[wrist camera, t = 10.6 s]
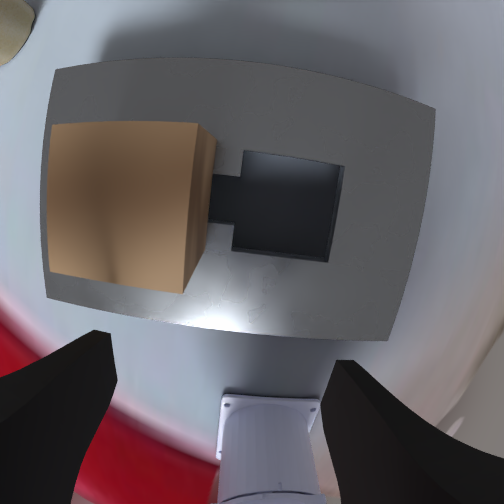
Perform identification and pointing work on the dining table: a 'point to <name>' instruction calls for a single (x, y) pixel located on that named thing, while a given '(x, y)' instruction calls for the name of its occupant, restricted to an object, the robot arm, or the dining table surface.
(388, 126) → the grey slotted base block
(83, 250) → the peg
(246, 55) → the dining table surface
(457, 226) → the dining table surface
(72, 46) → the dining table surface
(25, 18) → the flower pot
